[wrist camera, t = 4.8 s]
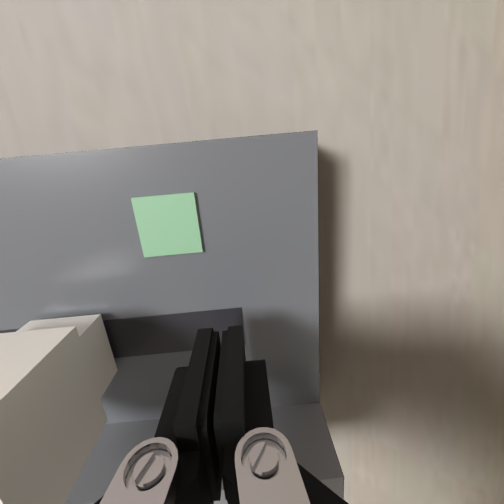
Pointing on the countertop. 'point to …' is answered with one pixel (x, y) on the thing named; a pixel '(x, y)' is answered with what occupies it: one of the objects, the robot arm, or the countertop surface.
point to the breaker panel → (174, 274)
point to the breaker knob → (51, 405)
